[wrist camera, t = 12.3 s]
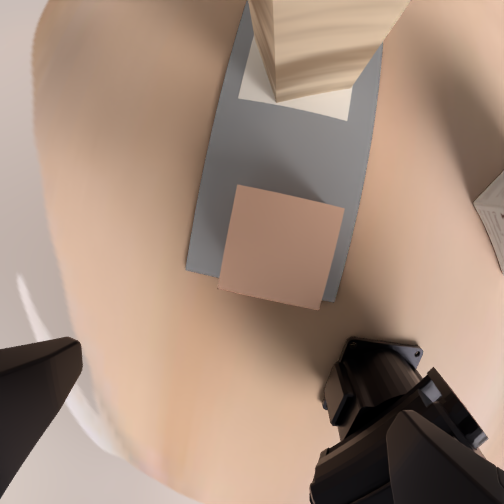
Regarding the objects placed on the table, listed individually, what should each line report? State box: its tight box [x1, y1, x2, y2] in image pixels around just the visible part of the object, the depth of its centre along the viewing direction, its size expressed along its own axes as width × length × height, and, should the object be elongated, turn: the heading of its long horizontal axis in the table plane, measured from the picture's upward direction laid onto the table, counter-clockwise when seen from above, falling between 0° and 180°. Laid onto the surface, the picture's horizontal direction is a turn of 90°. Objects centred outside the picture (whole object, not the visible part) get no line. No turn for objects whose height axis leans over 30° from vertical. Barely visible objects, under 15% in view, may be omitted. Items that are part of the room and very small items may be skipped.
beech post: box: [248, 0, 411, 103], centre depth 10 cm, size 5×5×13 cm
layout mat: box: [186, 0, 383, 303], centre depth 18 cm, size 10×20×1 cm, turn 168°
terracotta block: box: [217, 185, 345, 310], centre depth 16 cm, size 5×5×5 cm
